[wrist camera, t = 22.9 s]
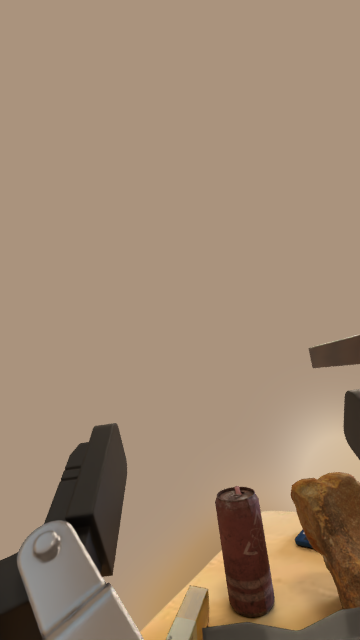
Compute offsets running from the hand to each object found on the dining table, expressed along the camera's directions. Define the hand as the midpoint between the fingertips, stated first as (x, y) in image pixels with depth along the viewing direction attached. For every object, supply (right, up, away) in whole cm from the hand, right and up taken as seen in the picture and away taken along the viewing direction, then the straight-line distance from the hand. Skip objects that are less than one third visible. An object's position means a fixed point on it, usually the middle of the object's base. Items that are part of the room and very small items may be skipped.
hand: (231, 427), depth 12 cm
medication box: (-1, -35, +25) cm, 43 cm away
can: (+8, -35, +33) cm, 49 cm away
